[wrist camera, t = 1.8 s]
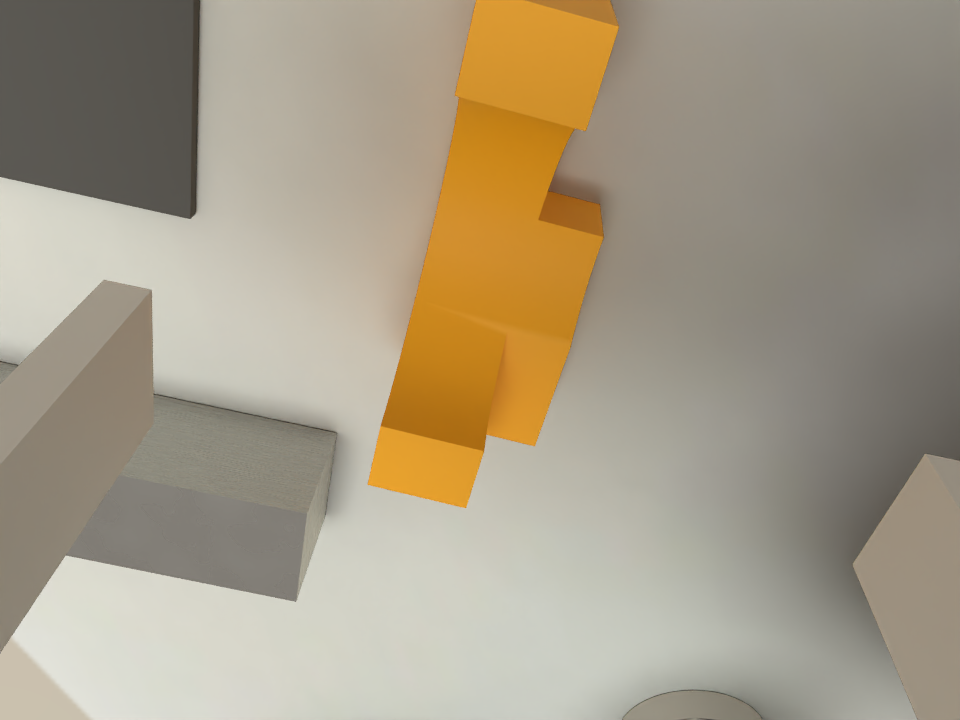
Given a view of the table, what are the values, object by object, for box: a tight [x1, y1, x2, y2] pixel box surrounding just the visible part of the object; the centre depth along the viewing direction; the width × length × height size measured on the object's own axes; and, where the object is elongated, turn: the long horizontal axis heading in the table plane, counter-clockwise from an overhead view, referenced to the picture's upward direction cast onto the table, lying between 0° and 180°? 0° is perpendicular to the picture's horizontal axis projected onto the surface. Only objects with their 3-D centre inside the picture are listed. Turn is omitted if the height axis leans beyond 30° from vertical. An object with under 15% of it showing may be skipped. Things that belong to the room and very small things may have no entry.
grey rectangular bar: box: [0, 362, 337, 602], centre depth 27 cm, size 14×4×4 cm, turn 78°
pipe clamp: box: [368, 0, 619, 508], centre depth 20 cm, size 12×4×6 cm, turn 166°
